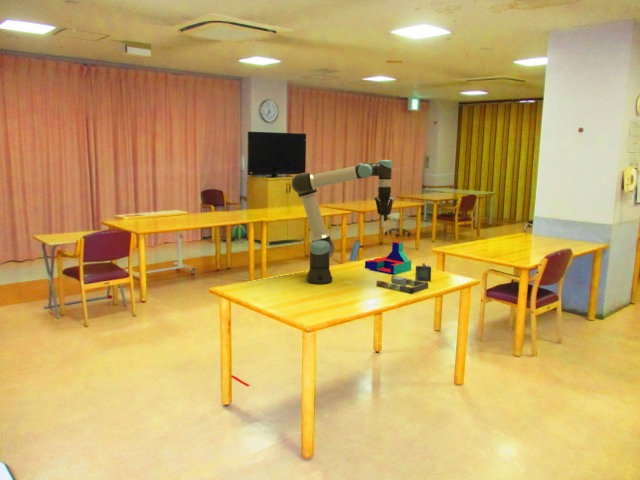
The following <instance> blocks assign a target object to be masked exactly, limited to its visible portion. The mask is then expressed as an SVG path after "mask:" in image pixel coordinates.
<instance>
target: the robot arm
mask: <svg viewBox="0 0 640 480" xmlns="http://www.w3.org/2000/svg"><path fill="white" fill-rule="evenodd" d="M392 163H393V162H392V160H391V159H379V161H378V162H376V163H374V162H360V163H358V165H354V166H350V167H349V166H348V167H345V168H340V169H334V170H329V171H326V172H325V171H324V172H320V173H316V174H313V173H309V172H302V173H301V172H300V173H298V174H296V175H295V176H293V178H292V180H291V188H292V190H293V191H294V192H296V193H297V195H298V198H300V200H302V204H303V207H304V211H305V214H306V217H307V220H308V224H309V228H310V232H311V234H312V239H311V243H309V244H310V245H309V270H308V274H307V275H306V282H307V283H309V284H312V283H313V285H326V284H331V283H332V282H333V277H332V274H331V270H330V258H331V257H332V256H333V255H334V252H335V244H334V242H333V240H332V238H331V235H330V234H329V233H327V230H326V227H325V223H324V220H323V216H322V213H321V210H320V206H319V202H318V199H317V194H318V191H317V188H320V187H325V186H330V185H335V184H339V183H344V182H350V181H356V180H360V179H366V178H370V177H378V189H377V192H378V194H377V196H376V197H374V201H375V205H376V211H377V214H378V215H380V221H381V227H387V221H388V216H389V215H391V212H392V207H393V204H394V202H395V198H393V197H392V195H391V193H392V175H393V174H392V173H393V172H392V171H393V170H392V169H393V168H392V167H393V166H392V165H393V164H392Z"/></svg>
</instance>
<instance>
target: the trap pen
mask: <svg viewBox="0 0 640 480" xmlns="http://www.w3.org/2000/svg"><path fill="white" fill-rule="evenodd" d="M428 288H429V282H428V281H417V280H416V281H414V286H409V285H406V286H403V285H401V286H400V291H399V292H402V293H407V294H411V295H412V294H415V293H418V292H421V291H424V290H426V289H428Z"/></svg>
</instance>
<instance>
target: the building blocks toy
mask: <svg viewBox="0 0 640 480" xmlns="http://www.w3.org/2000/svg"><path fill="white" fill-rule="evenodd" d="M391 244H392V245H391V246H392V247H391V252H389V254H388V255H387V256H383V257H376V258H374V259H368V260H365V261H364V268H365V269H369V270H370V271H372V272H375V273H376V272H378V273H382V274H387V275H391V276H397V275H399V274H404V273H406V272H410V271H412V260H410V259H409V258H408V256H407V255H406V253H405V252H404V242H403V241H397V240H396V241H392V242H391Z"/></svg>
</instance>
